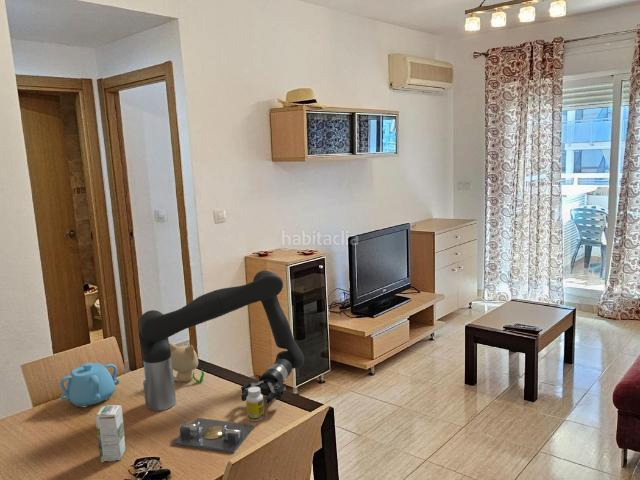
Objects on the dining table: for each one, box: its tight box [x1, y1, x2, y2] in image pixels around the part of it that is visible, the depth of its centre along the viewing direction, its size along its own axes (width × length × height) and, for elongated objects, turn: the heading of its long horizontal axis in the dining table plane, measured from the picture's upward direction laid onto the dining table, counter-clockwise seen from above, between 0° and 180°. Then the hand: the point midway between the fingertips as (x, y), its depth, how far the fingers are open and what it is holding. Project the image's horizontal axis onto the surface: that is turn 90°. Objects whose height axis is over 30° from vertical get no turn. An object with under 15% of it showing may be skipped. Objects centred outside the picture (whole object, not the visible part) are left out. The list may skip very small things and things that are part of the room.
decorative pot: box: [59, 362, 120, 407], centre depth 183 cm, size 16×16×14 cm
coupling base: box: [172, 417, 255, 454], centre depth 156 cm, size 20×14×5 cm
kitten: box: [169, 342, 205, 384], centre depth 195 cm, size 15×10×15 cm
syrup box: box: [94, 404, 127, 462], centre depth 147 cm, size 6×6×14 cm
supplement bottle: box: [245, 387, 265, 422], centre depth 165 cm, size 5×5×10 cm
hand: (255, 399), depth 165 cm, fingers open, 8 cm apart
